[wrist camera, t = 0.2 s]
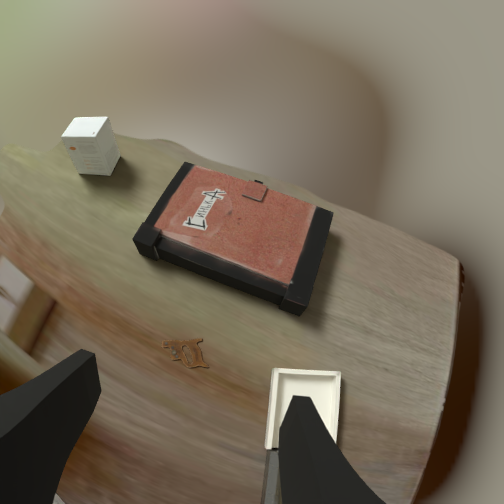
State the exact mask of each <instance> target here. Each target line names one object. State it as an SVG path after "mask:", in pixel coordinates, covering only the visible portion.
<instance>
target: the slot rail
mask: <svg viewBox="0 0 504 504" xmlns="http://www.w3.org/2000/svg"><path fill="white" fill-rule="evenodd" d="M280 488H281V484H280V472H279V459H278V449H267V455H266V464H265V473H264V482H263V490H262V498H261V504H278V503H279V496H280Z"/></svg>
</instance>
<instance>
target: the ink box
mask: <svg viewBox="0 0 504 504" xmlns="http://www.w3.org/2000/svg"><path fill="white" fill-rule="evenodd" d="M53 504H65V503H64V502H63V501H62V499H61V498H60V497H59V496H58V495H57V494H55V497H54V501H53Z"/></svg>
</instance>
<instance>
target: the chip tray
mask: <svg viewBox="0 0 504 504" xmlns="http://www.w3.org/2000/svg"><path fill="white" fill-rule="evenodd" d="M340 380H341V371H316V370H297V369H283V368H273V369H272V374H271V385H270V396H269V406H268V417H267V427H266V437H265V446H264V447H265V448H266V449H271V448H278V442H279V428H280V426H281V423H282V421H283V419H284V416H285V414H286V411H287V409H288V406H289V404H290V401H291V399H292V396H293V395H297V396H308V397H310V398H311V399H312V401H313V403H314V405H315V407H316V409H317V411H318V413H319V415H320V417H321V419H322V420H323V422H324V424H325V426H326V428H327V429H328V431H329V433H330V435H331V436H332V438H333V440H334V441H335V443H336V438H337V426H338V414H339V399H340Z"/></svg>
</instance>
